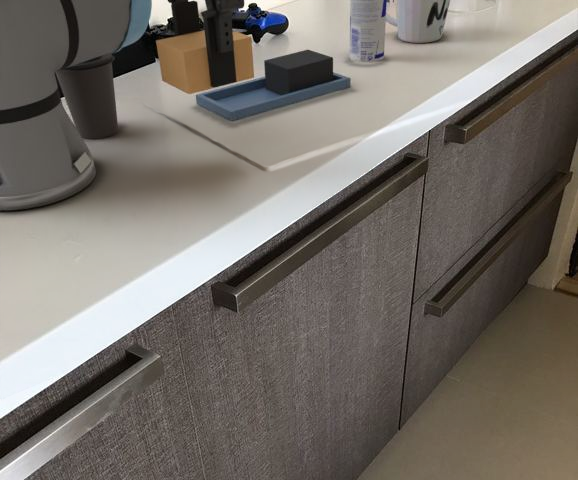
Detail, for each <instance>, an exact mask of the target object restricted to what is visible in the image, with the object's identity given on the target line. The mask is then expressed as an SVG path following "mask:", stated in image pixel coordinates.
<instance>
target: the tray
mask: <svg viewBox="0 0 578 480" xmlns="http://www.w3.org/2000/svg"><path fill="white" fill-rule="evenodd" d="M351 80H352V79H351V77H349V76H346V75H342V74H340V73H336V72H334V71H333V81H331V82H328V83H324V84H321V85H317V86H314V87H310V88H307V89H303V90H299V91H296V92H292V93H289V94H285V95H282V96H281V95H279V94H276V93H274V92H272V91H269V90H267V89H266V82H265V76H262V77H259V78H253V79H249V80H245V81H242V82H240V83H235V84H230V85H226V86H223V87H219V88H217V89H213V90H212V89H211V90H209V91H205V92H201V93H197V94H195V101H196V105H198V106H200V107H202V108H204V109H206V110H208V111H210V112H212V113H215V114H216V115H218V116H221V117H222V118H224V119H227V120H228V121H230V122H236V121H239V120H243V119H247V118H249V117H253V116H257V115H259V114H263V113H266V112H269V111H273V110H276V109H280V108H284V107H287V106H290V105H294V104H297V103H301V102H304V101H307V100H312V99H314V98H317V97H321V96H324V95H328V94H331V93H335V92H338V91H342V90H345V89H348V88H351V85H352V84H351Z"/></svg>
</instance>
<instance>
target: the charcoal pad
mask: <svg viewBox="0 0 578 480" xmlns="http://www.w3.org/2000/svg"><path fill="white" fill-rule="evenodd" d="M263 63H264V64H263V65H264V77H265V82H266V89H267V90H269V91H272V92H274V93H276V94H279V95H281V96H282V95H285V94H289V93H292V92H296V91H299V90H303V89H307V88H310V87H314V86H317V85H321V84H324V83H328V82H331V81H333V72H334V57H333V56H329V55H327V54H323V53H320V52H317V51H315V50H311V49H304V50H300V51H296V52H292V53H287V54H285V55H280V56H277V57H272V58H269V59H264V61H263Z"/></svg>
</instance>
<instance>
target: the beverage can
mask: <svg viewBox="0 0 578 480" xmlns="http://www.w3.org/2000/svg"><path fill="white" fill-rule="evenodd" d="M387 1H388V0H350V7H349V9H350V10H349V60H351V61H353V62H358V63H375V62H380V61H382V60H383V59H384V58H385V47H386V46H385V44H386V41H385V40H386V23H387V21H386V13H387Z"/></svg>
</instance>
